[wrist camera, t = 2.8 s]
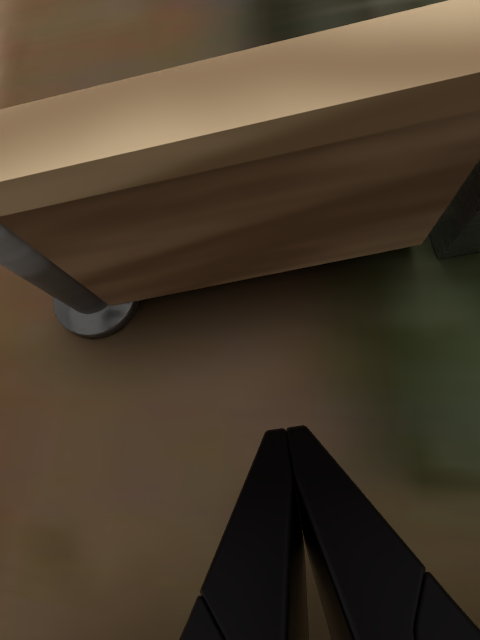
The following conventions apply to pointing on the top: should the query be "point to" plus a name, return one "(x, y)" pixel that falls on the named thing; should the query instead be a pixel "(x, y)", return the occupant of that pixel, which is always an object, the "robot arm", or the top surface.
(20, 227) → the gate
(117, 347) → the top surface
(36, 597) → the top surface
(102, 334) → the gate frame
